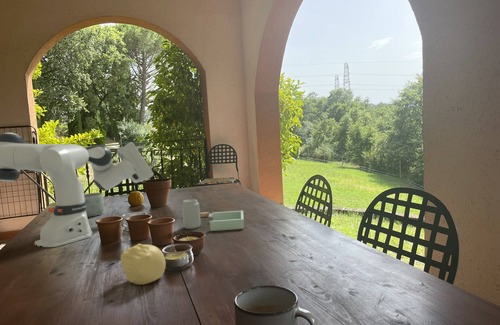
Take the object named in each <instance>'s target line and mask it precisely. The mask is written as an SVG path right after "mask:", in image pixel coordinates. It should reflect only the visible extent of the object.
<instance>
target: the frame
mask: <svg viewBox="0 0 500 325" xmlns="http://www.w3.org/2000/svg"><path fill="white" fill-rule="evenodd" d="M211 214H212V218H211V219H212V220H209V229H210V232H213V231H229V230H230V231H231V230H243V229H245V223H244V222H245V220H244V210H232V211H231V210H229V211H216V212H212V213H211Z"/></svg>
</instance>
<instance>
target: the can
mask: <svg viewBox="0 0 500 325" xmlns="http://www.w3.org/2000/svg"><path fill="white" fill-rule="evenodd" d="M181 213H182V214H181V215H182V226H183V228H184V229H186V230H194V229H199V227H200V226H201V217H200V213H201V211H200V202H198V199H196V198H194V199H193V198H191V199H190V198H189V199H185V200H182V203H181Z"/></svg>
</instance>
